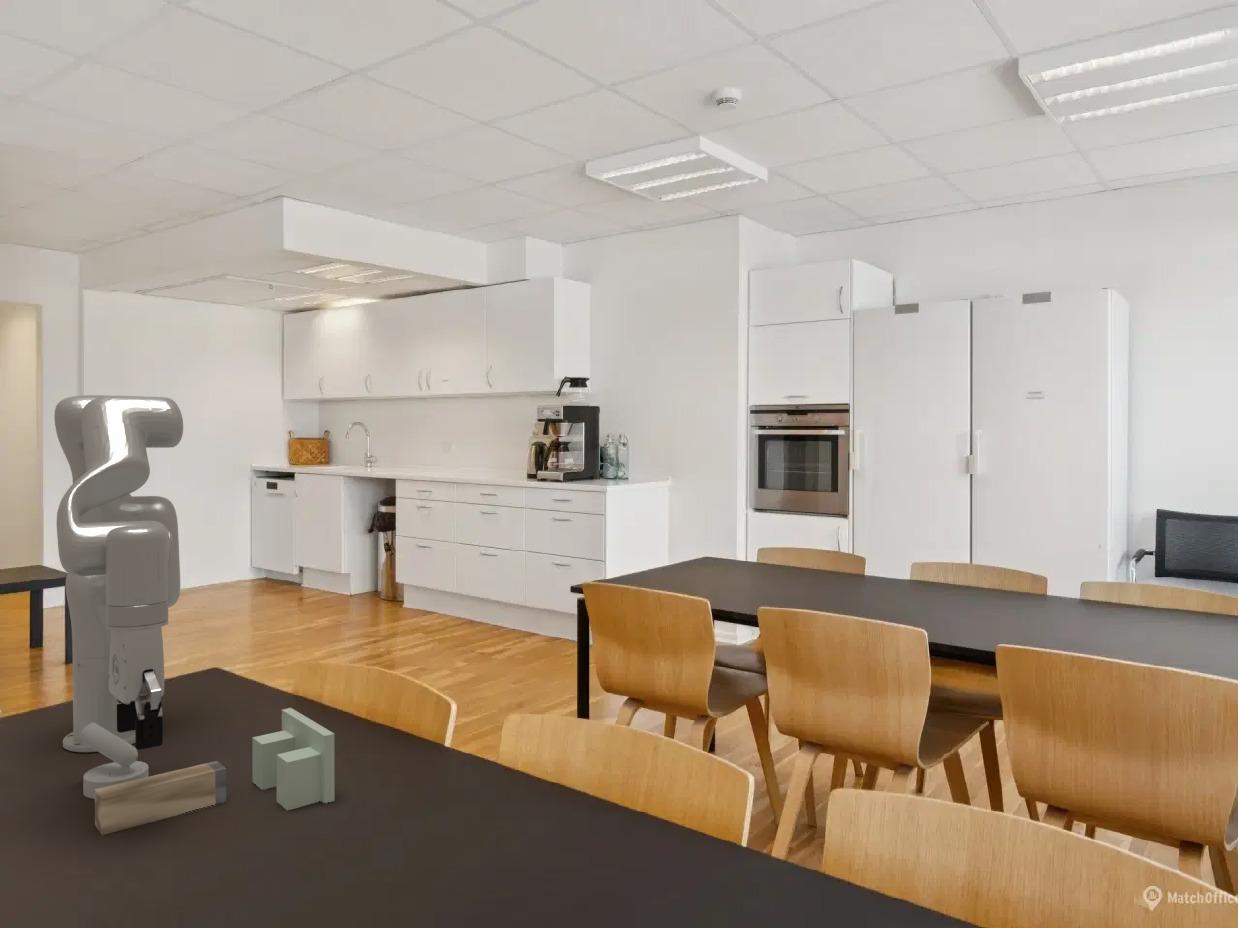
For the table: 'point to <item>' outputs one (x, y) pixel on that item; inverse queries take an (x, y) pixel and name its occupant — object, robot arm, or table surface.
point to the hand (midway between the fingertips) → (139, 738)
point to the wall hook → (115, 750)
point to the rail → (159, 797)
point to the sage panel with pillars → (296, 761)
